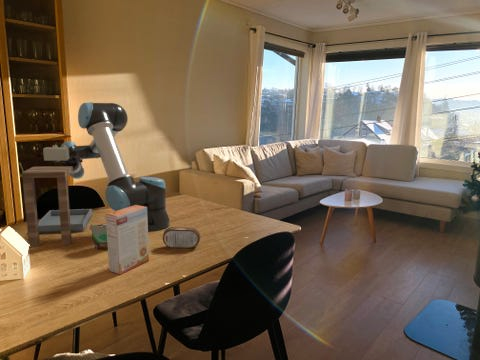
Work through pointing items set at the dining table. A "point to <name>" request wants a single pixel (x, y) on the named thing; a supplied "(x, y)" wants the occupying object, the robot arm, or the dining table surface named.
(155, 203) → the robot arm
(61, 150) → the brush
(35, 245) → the shelf stand
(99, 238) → the food container
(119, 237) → the cracker box
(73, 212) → the tray
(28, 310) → the dining table surface
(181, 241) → the tin
